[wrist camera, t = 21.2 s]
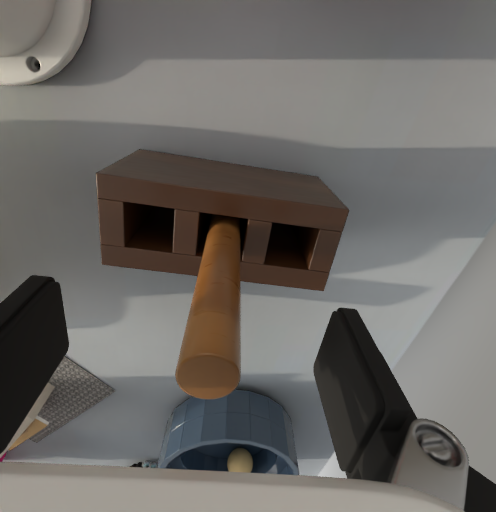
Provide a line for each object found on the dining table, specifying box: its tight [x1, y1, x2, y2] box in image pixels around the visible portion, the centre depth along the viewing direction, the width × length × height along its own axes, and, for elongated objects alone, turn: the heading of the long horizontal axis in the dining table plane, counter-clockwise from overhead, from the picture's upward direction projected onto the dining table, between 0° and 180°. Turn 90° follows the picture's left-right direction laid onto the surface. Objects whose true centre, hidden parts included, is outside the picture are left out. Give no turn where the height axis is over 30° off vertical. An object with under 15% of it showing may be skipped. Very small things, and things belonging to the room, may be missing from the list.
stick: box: [175, 214, 241, 399], centre depth 17 cm, size 2×2×18 cm
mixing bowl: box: [157, 390, 299, 475], centre depth 36 cm, size 15×15×6 cm
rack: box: [96, 149, 349, 291], centre depth 22 cm, size 6×14×8 cm, turn 81°
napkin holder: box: [0, 383, 56, 458], centre depth 33 cm, size 3×7×7 cm, turn 128°
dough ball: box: [227, 448, 253, 473], centre depth 39 cm, size 3×3×3 cm
